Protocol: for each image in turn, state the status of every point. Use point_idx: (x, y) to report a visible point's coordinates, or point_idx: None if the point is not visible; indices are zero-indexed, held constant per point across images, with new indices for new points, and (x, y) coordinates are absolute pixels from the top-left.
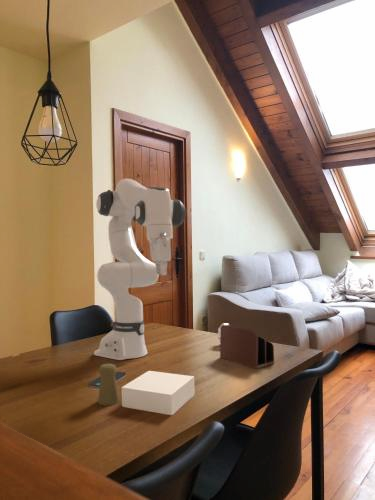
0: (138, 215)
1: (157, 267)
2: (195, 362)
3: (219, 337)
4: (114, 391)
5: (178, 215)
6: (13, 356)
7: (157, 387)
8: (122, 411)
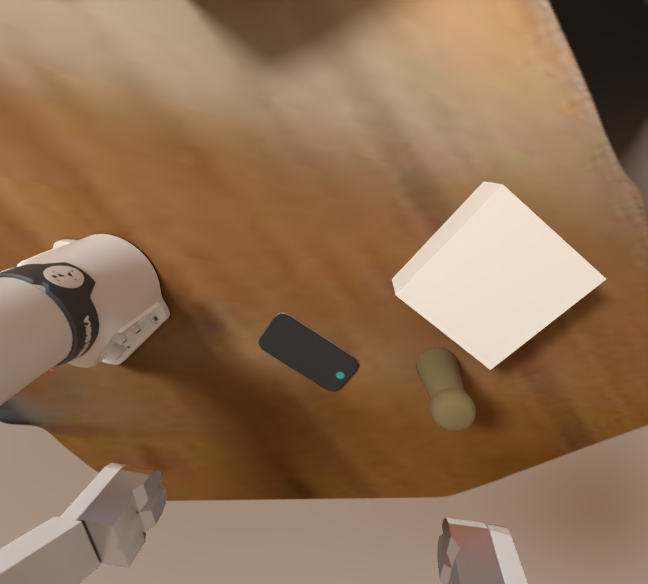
0: None
1: (65, 577)
2: (216, 103)
3: None
4: (457, 370)
5: None
6: None
7: (535, 299)
8: None
